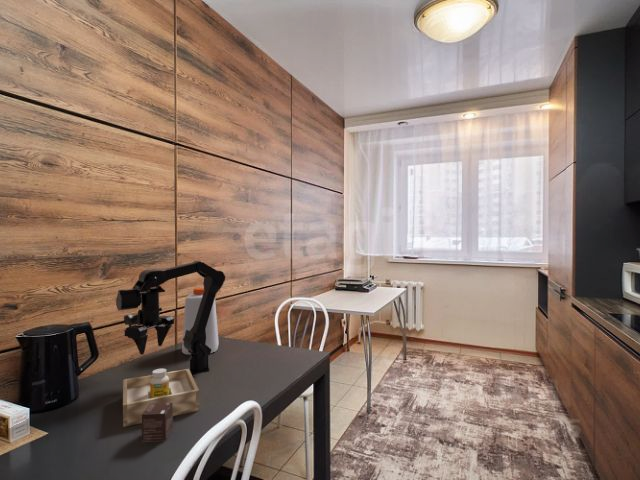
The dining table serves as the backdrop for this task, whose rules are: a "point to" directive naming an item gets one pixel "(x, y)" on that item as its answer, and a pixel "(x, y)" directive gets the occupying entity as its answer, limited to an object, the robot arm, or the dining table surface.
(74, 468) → the dining table surface
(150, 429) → the box
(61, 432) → the dining table surface
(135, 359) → the dining table surface
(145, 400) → the open box
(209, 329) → the plastic bottle
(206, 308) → the robot arm
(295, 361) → the dining table surface
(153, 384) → the supplement bottle
